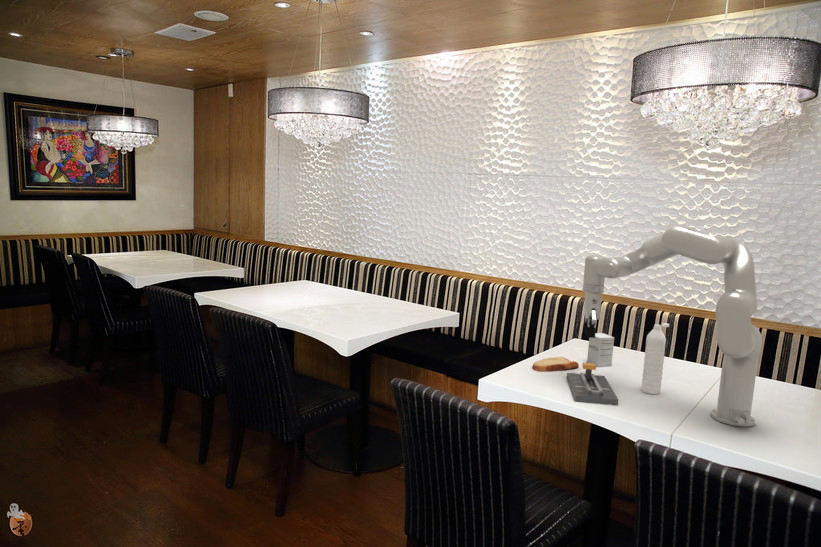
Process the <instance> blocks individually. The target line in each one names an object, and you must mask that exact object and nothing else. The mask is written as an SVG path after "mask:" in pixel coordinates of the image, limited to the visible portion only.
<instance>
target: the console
mask: <svg viewBox="0 0 821 547" xmlns="http://www.w3.org/2000/svg"><path fill="white" fill-rule="evenodd" d="M585 373H586V372H585ZM585 373H583V372H582V373H581V372H579V373H574V372H566V379H567V380H566V381H567V383H568V386H569V388H570V391H571V393H572V397H573V400H574V402H578V403H589V404H598V403H599V404H601V405H608V404H612V405H611V406H619V399H618V396H617V395H616V393H615V392H614V389H613V388H612V386H611V385H610V383H609V381H608V380H607V378H606V376H605V375H599V374H598V375H596V374H593V373H591V380H588V379H586V378H585Z"/></svg>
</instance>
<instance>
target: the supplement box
mask: <svg viewBox="0 0 821 547" xmlns="http://www.w3.org/2000/svg"><path fill="white" fill-rule="evenodd" d="M614 344H615V336H612V335H608V334H606V333H604V332H597V333H596V332H595V338H588V346H587V347H588V349H587V358H586V359H587V360H586V361H587V362H586V363H593V364H595V365H596V368H603V367H605V368H606V366H607V367H612V364H613V363H612V362H613V353H614Z"/></svg>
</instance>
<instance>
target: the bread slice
mask: <svg viewBox="0 0 821 547" xmlns="http://www.w3.org/2000/svg"><path fill="white" fill-rule="evenodd" d="M579 366H580V365H579V362H577V361H574V360H570V359H568V358H566V357H563V356H558V357H548V358H542V359H541V360H540V359H539V360H538V361H535V362H534V363H533V364H532V367H531V368H532V370H533V371H535V372H539V373H543V372H544V373H547V372H548V373H549V372H550V373H551V372H560V371H569V370H573V369H577V368H579Z"/></svg>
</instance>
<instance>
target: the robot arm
mask: <svg viewBox="0 0 821 547" xmlns="http://www.w3.org/2000/svg"><path fill="white" fill-rule="evenodd" d="M678 255H679V256H682V257H686V258H688V259H690V260H691V259H692V260H695V261H698V262H700V263H703V264H706V265H707V264H708V265H716V264H722V265H723V268H724V272H723V282H724V294H722V295H721V296H719V298H718V300H717V301H716V305H715V322H716V326H715V327H716V338H717V339H716V340H717V345H718V348H719V349H720V351H721V352H722V354H723V359H722V366H721V370H720V371H721V374H720V380H719V381H720V382H719V388H718V397H717V405H716V408H715V409H712V410H711V411H710V416H711V417H712V418H713V419H715V420H716V421H718V422H720V423H723V424H727V425H731V426H733V427H734V426H735V427H741V428H742V427H746V428H747V427H753V426H755V425H756V422H757V421H756V418H754V417H753V416H752V415H751V414H752V407H753V402H754V401H753V399H754V392H755V385H756V377H757V372H758V365H759V359H760V354H761V351H762V344H763V337H762V334H761V332H760V330H759V328H757V327H756V326H755V325H753V324H752V317H753V316H754V315H755V314H756V312H757V310H758V299H757V286H756V285H757V283H756V272H755V262H754V258H753V255H752V253H751V251H750V250H749V248H748V247H747V246H746V245H745V244H744V243H743V242H742V241H740V240H737V239H735V238H732V237H730V236H723V235H722V236H720V235H719V236H711V235H707V234H704V233H700V232H697V231H696V230H695V228H693V227H691V226H689V225H674V226H673V225H672V226H671V227H668V229H666V230H665V231H664V233H662V234H660V235H657V236H655V237H653V238H650V239H648V240H646V241H644V243H642V246H640V247H639V248H637V249H636V250H635V249H634V250H633V251H630V252H628V253H627V254H624V255H621V256H615V257H607V258H606V257H604V256H600V255H587V256H586V257H585V259H584V260H585V261H584V269H583V280H582V281H583V284H582V292H583V293H584V303H583V315H584V322H583V323H584V324H583V333H584V334H585V337H586V338H588V339H589V338H595V333H596V329H597V321H600V320H601V310H602V295H603V294H604V291H605V290H604V289H605V279H619V278H623V277H624V278H625V277H628V276H630V275H632V274H635V273H638V272H640V271H642V270H645V269H646V268H649V267H651V266H654V265H656V264H659V263H661V262H664V261H666V260H667V259H671V258H673V257H676V256H678Z"/></svg>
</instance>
